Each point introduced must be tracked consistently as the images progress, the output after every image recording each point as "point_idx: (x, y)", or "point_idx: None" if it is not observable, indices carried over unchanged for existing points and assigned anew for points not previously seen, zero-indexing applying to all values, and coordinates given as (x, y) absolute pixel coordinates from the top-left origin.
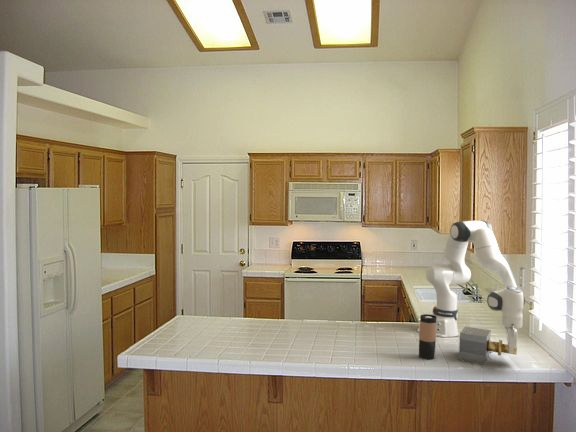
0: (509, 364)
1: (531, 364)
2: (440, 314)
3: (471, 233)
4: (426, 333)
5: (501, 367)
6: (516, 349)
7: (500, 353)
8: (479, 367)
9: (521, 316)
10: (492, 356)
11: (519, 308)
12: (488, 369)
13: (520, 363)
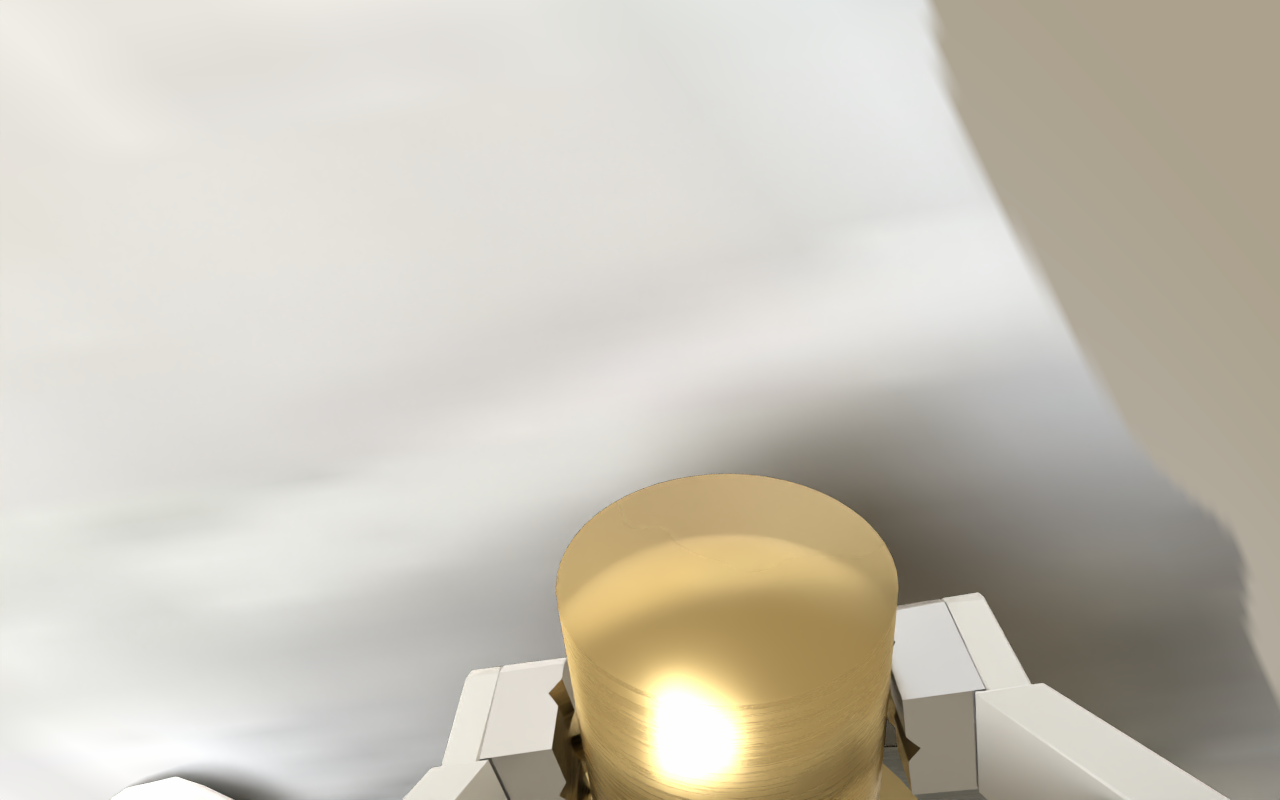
0: (724, 446)
1: (346, 5)
2: None
3: None
4: None
5: (1024, 532)
6: (833, 603)
7: (896, 777)
8: (1191, 774)
9: None
10: (429, 731)
11: None
12: (1254, 671)
13: (479, 267)
